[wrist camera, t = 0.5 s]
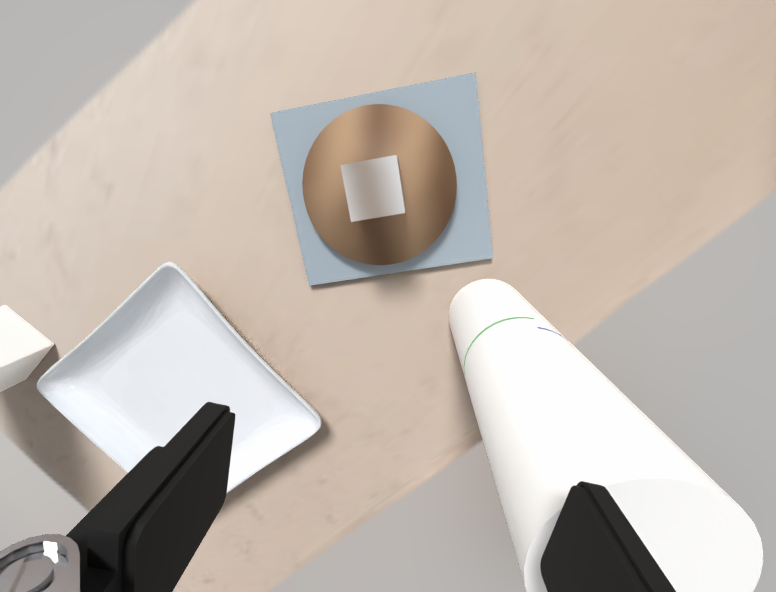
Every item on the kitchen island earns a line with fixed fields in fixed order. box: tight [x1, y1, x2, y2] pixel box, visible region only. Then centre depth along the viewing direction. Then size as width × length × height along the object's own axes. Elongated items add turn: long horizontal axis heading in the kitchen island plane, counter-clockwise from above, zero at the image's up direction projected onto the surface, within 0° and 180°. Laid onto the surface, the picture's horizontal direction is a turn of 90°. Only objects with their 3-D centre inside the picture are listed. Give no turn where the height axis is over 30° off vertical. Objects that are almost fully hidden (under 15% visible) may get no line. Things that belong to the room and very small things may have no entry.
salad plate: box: [36, 262, 322, 494], centre depth 39 cm, size 21×21×3 cm
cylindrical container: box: [448, 279, 763, 592], centre depth 24 cm, size 7×7×25 cm
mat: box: [270, 73, 493, 286], centre depth 33 cm, size 17×15×1 cm
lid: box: [302, 104, 457, 265], centre depth 30 cm, size 13×13×6 cm
